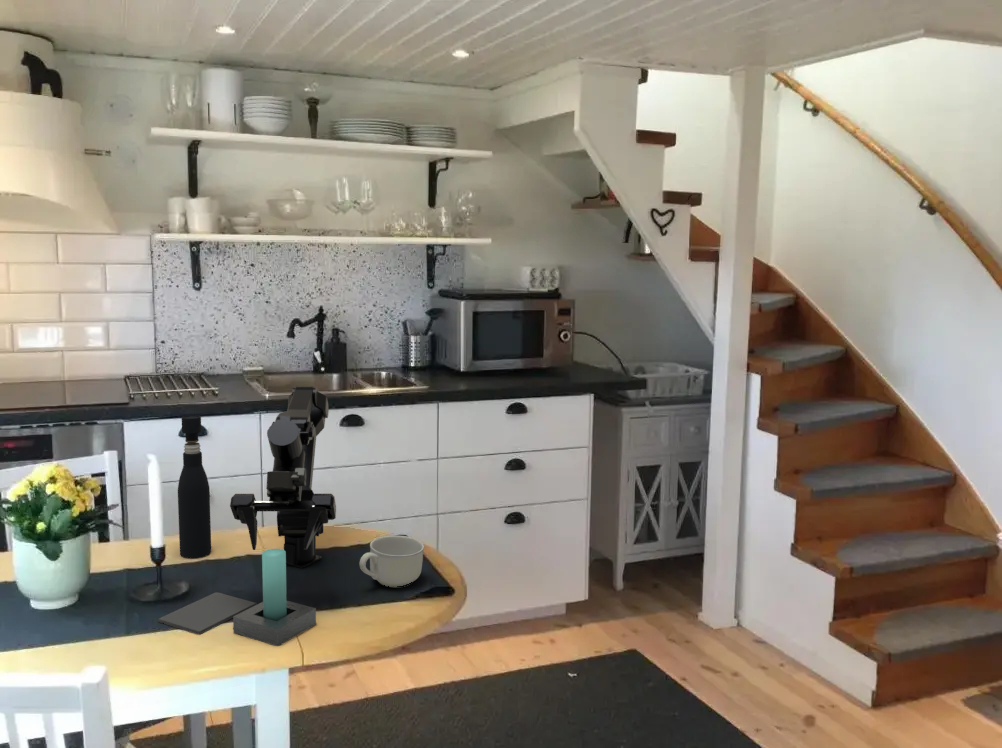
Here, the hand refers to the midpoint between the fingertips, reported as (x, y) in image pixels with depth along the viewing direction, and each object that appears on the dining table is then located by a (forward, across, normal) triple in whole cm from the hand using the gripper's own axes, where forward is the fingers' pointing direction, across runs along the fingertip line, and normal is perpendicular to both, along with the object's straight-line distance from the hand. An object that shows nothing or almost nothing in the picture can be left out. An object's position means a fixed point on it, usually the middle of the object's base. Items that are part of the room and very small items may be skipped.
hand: (279, 548), depth 165 cm
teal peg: (+13, 0, +4) cm, 14 cm away
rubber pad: (+8, -13, +9) cm, 18 cm away
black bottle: (-13, -23, +31) cm, 41 cm away
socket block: (+13, 0, +4) cm, 14 cm away
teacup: (-1, +19, +19) cm, 27 cm away
